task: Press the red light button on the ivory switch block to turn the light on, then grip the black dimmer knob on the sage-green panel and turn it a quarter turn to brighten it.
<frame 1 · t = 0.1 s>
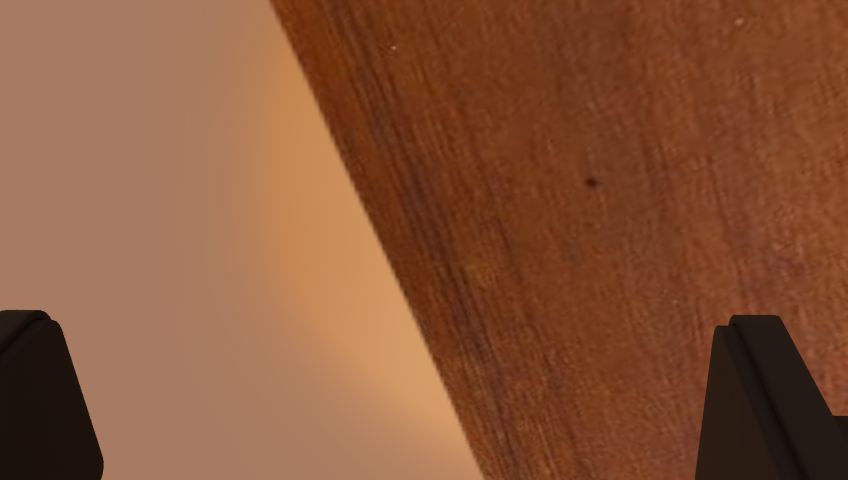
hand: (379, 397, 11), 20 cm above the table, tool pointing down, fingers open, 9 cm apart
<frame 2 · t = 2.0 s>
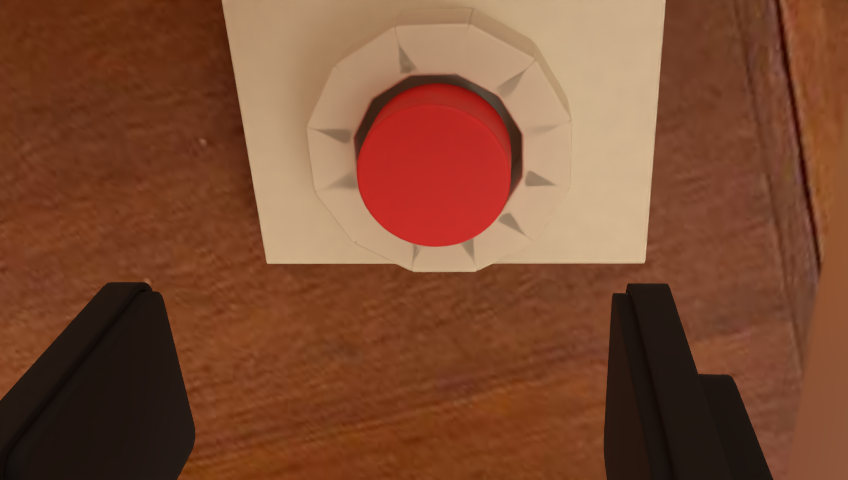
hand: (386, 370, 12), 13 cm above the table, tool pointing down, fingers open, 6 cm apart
light button: (436, 165, 19), point 4 cm above the table, slide at 0.1 cm
switch block: (449, 107, 23), on the table
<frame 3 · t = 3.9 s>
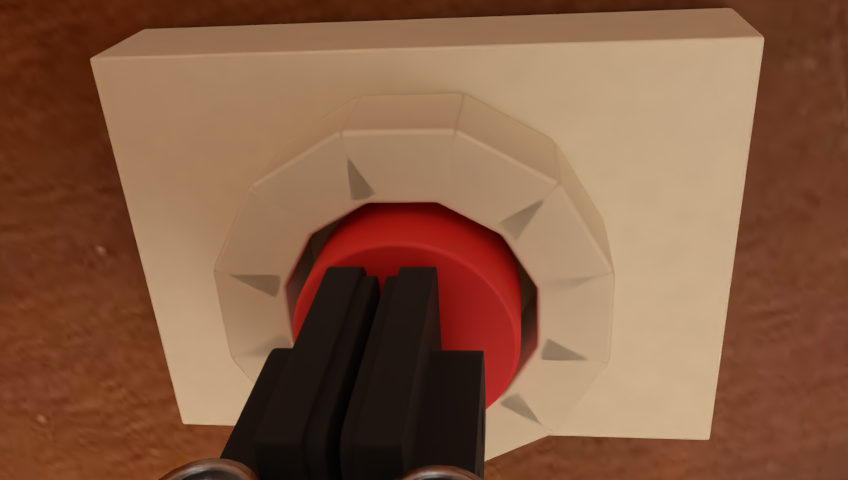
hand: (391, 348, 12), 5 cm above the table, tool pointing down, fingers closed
light button: (411, 313, 13), point 4 cm above the table, slide at -0.5 cm, touching gripper
switch block: (435, 212, 17), on the table
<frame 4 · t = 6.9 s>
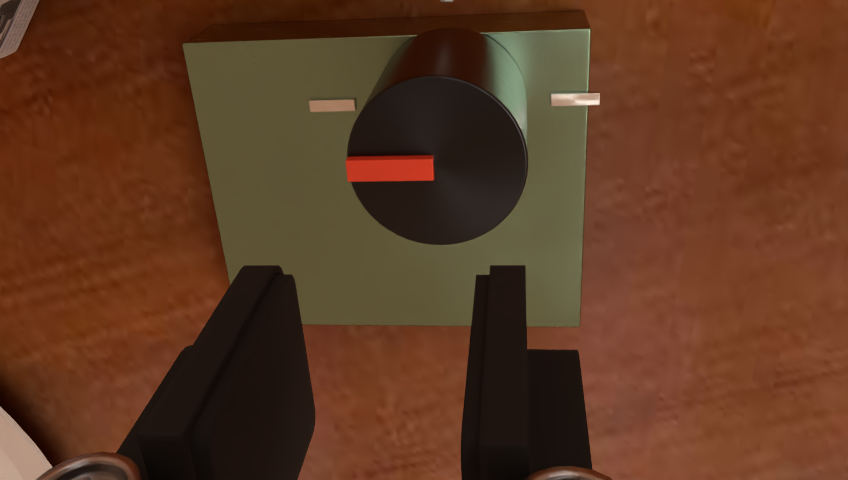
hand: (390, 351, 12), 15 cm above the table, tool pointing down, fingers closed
dimmer knob: (444, 132, 21), point 5 cm above the table, hinge at 0.0°
dimmer panel: (403, 164, 27), on the table
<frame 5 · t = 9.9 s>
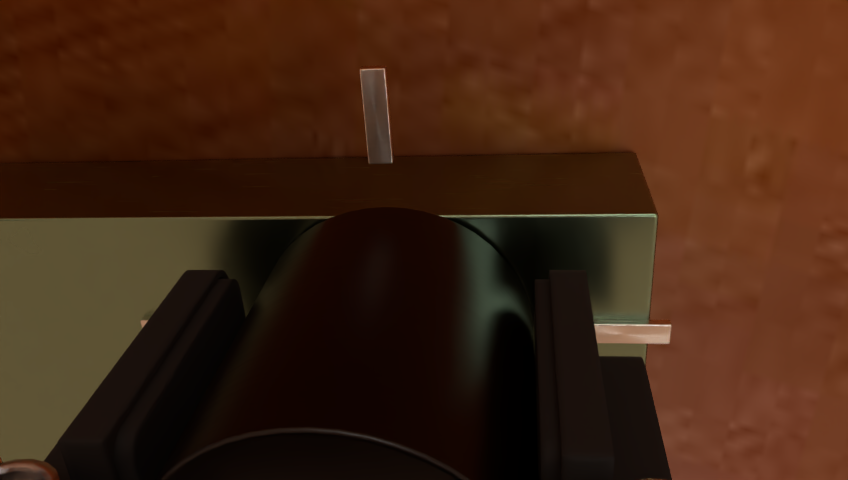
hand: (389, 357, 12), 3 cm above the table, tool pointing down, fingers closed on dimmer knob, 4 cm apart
dimmer knob: (369, 439, 10), point 5 cm above the table, hinge at -0.2°, touching gripper
dimmer panel: (329, 378, 17), on the table
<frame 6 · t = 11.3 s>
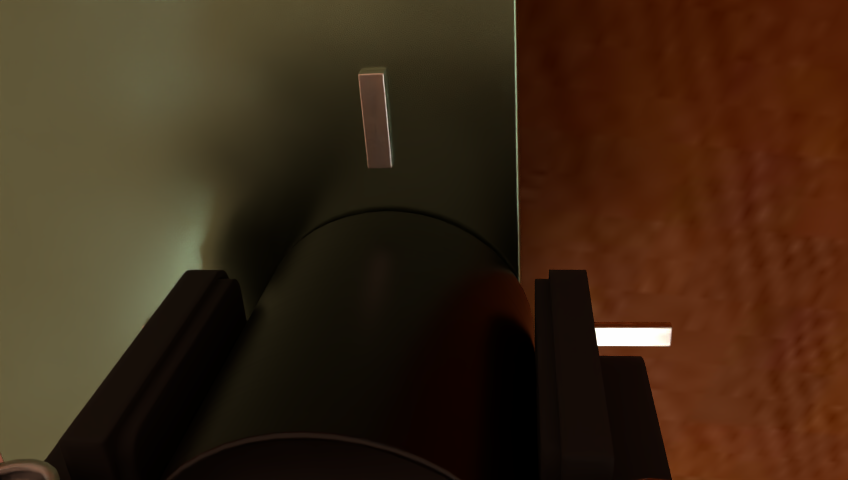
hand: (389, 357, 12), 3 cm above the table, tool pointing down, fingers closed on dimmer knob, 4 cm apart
dimmer knob: (370, 444, 11), point 5 cm above the table, hinge at 90.6°, touching gripper
dimmer panel: (246, 163, 15), on the table
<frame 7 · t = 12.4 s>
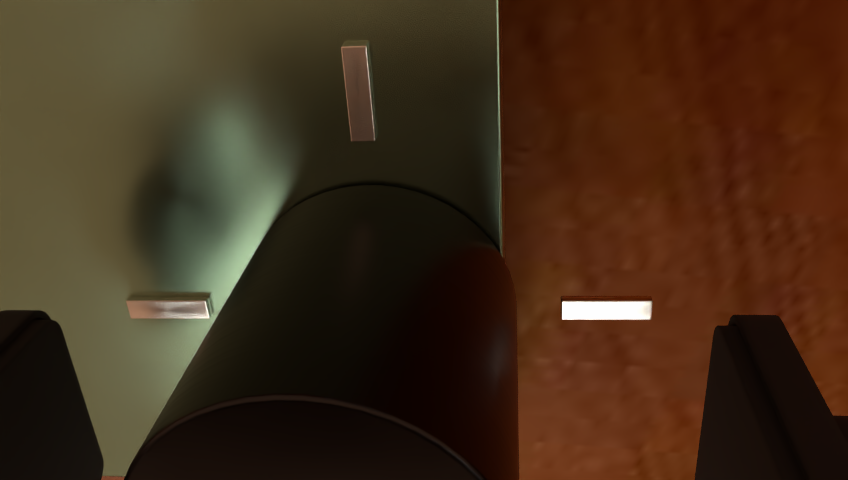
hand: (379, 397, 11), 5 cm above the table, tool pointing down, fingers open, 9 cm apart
dimmer knob: (353, 414, 11), point 5 cm above the table, hinge at 93.5°
dimmer panel: (230, 139, 15), on the table
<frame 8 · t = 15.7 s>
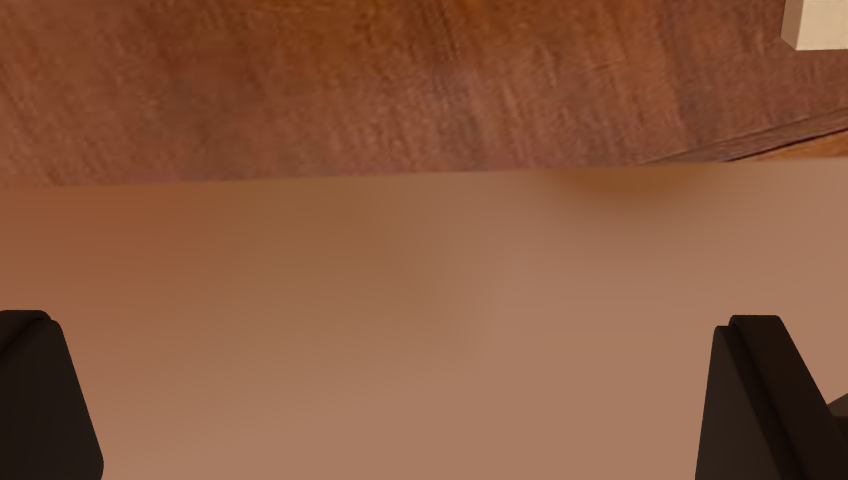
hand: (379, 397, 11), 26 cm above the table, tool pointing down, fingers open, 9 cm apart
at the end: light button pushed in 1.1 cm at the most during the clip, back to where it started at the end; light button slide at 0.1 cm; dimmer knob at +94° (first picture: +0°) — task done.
